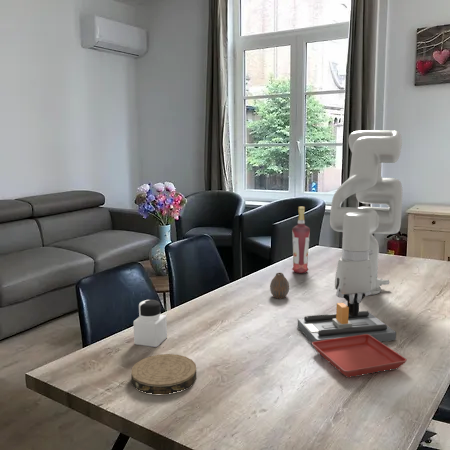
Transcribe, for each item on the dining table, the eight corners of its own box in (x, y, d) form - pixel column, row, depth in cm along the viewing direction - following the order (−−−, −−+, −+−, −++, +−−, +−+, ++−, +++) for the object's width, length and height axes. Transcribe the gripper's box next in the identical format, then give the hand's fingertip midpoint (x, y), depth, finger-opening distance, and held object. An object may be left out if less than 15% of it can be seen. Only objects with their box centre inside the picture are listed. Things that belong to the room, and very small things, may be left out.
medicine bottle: (167, 337, 148) (166, 299, 146) (156, 347, 141) (154, 307, 139) (145, 334, 150) (144, 296, 148) (133, 344, 144) (132, 304, 141)
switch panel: (369, 320, 160) (369, 307, 159) (395, 340, 144) (396, 327, 144) (297, 326, 155) (297, 313, 154) (316, 348, 140) (317, 334, 139)
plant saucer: (310, 352, 138) (310, 341, 137) (367, 343, 143) (368, 332, 143) (344, 383, 121) (344, 371, 120) (407, 372, 126) (408, 360, 126)
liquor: (310, 274, 210) (311, 208, 204) (292, 274, 210) (293, 208, 204) (307, 269, 217) (309, 205, 211) (290, 269, 217) (291, 205, 212)
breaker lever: (344, 321, 152) (345, 301, 151) (351, 327, 147) (352, 307, 146) (332, 322, 151) (332, 302, 150) (339, 328, 146) (339, 308, 145)
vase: (288, 293, 186) (289, 270, 184) (289, 300, 179) (289, 276, 177) (270, 293, 187) (270, 270, 185) (269, 299, 180) (270, 276, 178)
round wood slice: (203, 390, 119) (203, 378, 118) (135, 401, 114) (135, 389, 114) (189, 361, 134) (188, 350, 133) (128, 369, 129) (128, 358, 129)
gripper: (372, 250, 151) (369, 308, 154) (325, 253, 148) (324, 312, 151) (385, 256, 144) (382, 317, 147) (336, 259, 141) (334, 321, 144)
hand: (352, 314), depth 149 cm, fingers closed
